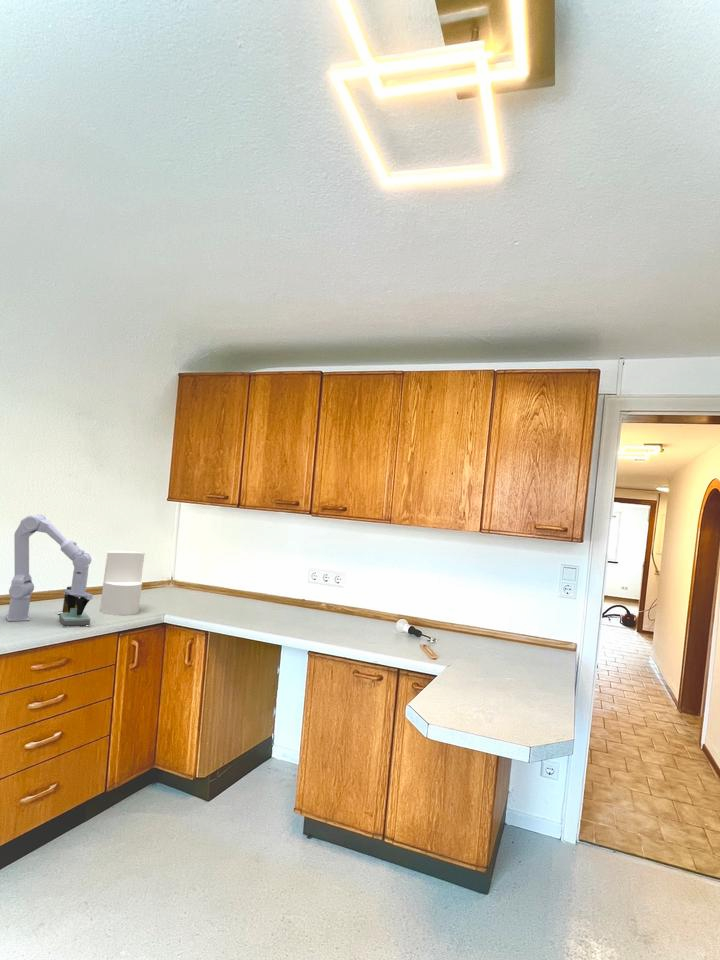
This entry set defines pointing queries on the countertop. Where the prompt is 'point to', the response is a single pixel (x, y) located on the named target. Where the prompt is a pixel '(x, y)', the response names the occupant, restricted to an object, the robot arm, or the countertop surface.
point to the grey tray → (74, 622)
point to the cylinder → (122, 582)
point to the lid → (74, 616)
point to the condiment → (65, 607)
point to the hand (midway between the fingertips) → (75, 613)
